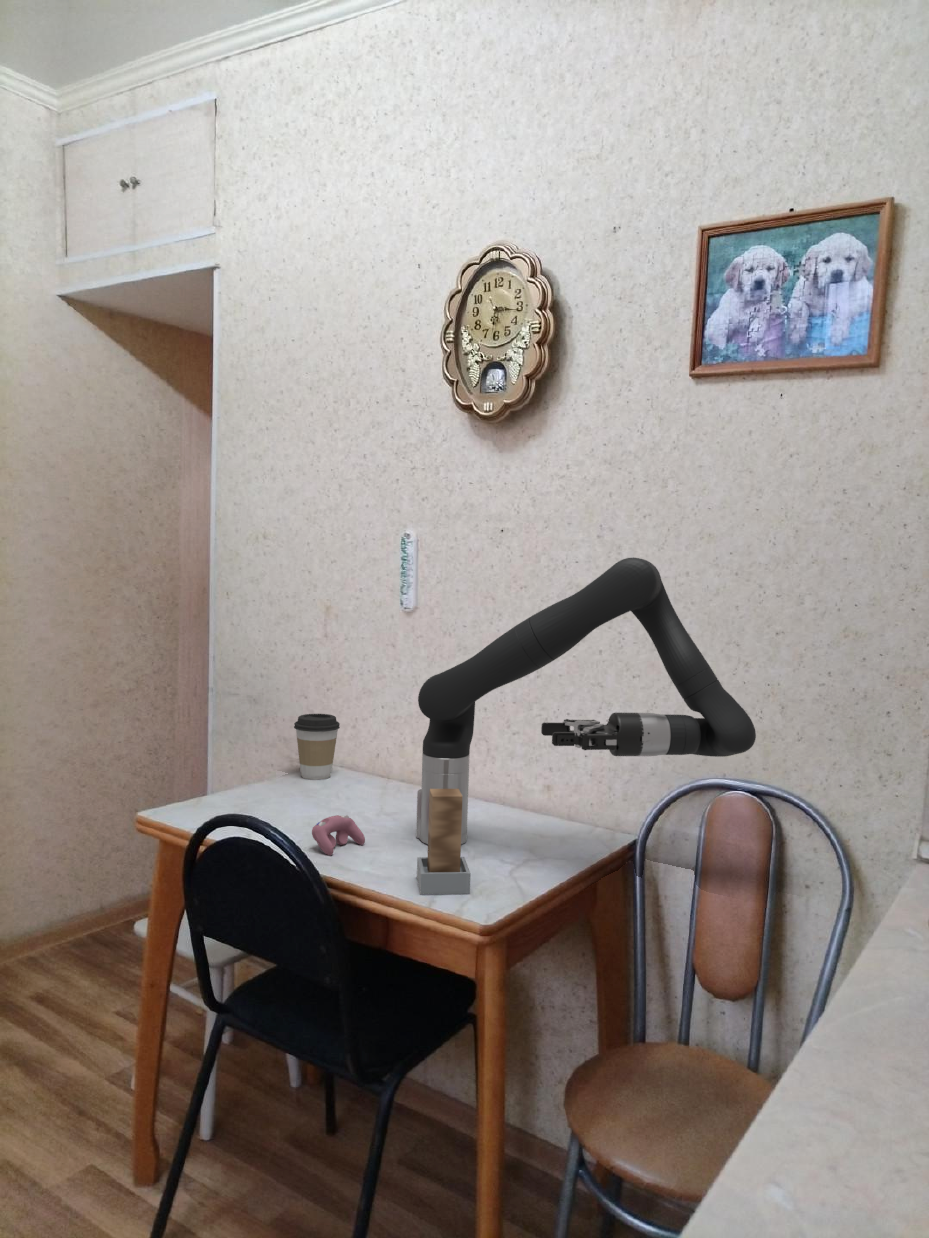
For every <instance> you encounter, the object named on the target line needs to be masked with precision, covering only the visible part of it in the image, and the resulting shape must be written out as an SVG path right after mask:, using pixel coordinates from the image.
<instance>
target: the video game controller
mask: <svg viewBox="0 0 929 1238" xmlns="http://www.w3.org/2000/svg"><path fill="white" fill-rule="evenodd" d="M335 832H336V833H335ZM332 833H335V837H334V836H333V835H332ZM311 835H312V838H313V839H314V841H315V842H316V843H317V845H318V847H319V848H320V850H321V851H322V852H323V853H324V854H325V855H327V856H329V855H330V856H333V855H334V851H335V850H334V848H335V847H336V845H339V846H343V845H346V844H347V843H348V839H349V837H350V838H351V839H352V840H353V841H354V842H355V843H357V844H358V845H360V846H363V845H365V844H366V837H365V835H364V833H363V832H362V829H360V828H359V826H358V825H357V823H356V822H355V820H354V819H352V818H350V816H349V815H348V814H347V815H337V814H336V815H332V816H328V817H325V818H323V819H322V820H320V821H319V822H317V823H316V824H315V825H313V827H312V829H311ZM330 856H329V857H330Z"/></svg>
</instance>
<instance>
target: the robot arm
mask: <svg viewBox="0 0 929 1238" xmlns="http://www.w3.org/2000/svg"><path fill="white" fill-rule="evenodd" d="M629 612H631V614H633V615H634V617H635V618H636V619H637V620H638V621H639V623H640V624H641V625H642V627H643V628H644V630H645V631H646V633H647V634H648V636H649V637H650V640H651V641H652V643H653V645H654V647H655V649H656V652H657V653H658V657H660V660H661V662H662V664H663V667H664V668H665V670H666V673H667V674H668V677H669V679H670V681H671V682H672V684H673V685H674V686H675V689H676V690H677V691H678V693H679V695H680V696H681V698H682V700H683V701H684V703H685V705H686V706H687V707H688V708H689V709H690V710H691V711H693V712H696V713H699V714H700V715H701V716H702V717H700V718H699V717H693V716H691V715H687V714H663V713H662V714H661V713H654V712H612V713H611V714H610V715H609V717H608V722H607V723H606V724H604V723H601V722H600V721H599V720H595V719H568V718H566V719H563V721H562V722H542V723H541V735H543V736H544V737H545V736H547V737H548V736H550V737H551V744H552V745H553V746H554V747H575V748H577V749H581V750H583V751H604V750H606V751H608V750H609V752H610V754H611V755H612V756H614V757H658V756H683V755H685V756H686V755H695V756H696V755H697V756H701V757H702V756H703V757H717V758H721V757H723V758H724V757H730V756H734V755H735V756H736V755H739V754H742V753H746V752H747V751H750V750H751V749H752V747H754V745H755V742H756V738H757V733H756V732H757V731H756V729H755V728H756V727H755V726H754V723H753V721H752V718H751V717H750V716H749V714H748V713H747V711H746V710H745V709H744V708H743V707H742V706H741V705H740V704H739V703H738V702H737V700H736V699H735V698H734V697H733V696H732V695H731V694H730V693H729V692H728V691H727V690H726V689H725V688H724V687H723V686H722V683H721V682H720V681H719V679H718V677H717V675H716V674H715V672H714V671H713V669H712V667H711V666H710V664H709V663H708V661H707V659H706V658H705V657H704V655H703V654H702V652H701V651H700V649H699V648H698V646H697V644H696V643H695V641H694V640H693V639H692V637H691V636H690V634H689V633H688V631H687V630H686V627H685V626H684V625H683V623H682V621H681V620H680V617H679V616H678V614H677V612H676V611H675V609H674V606H673V605H672V602H671V600H670V598H669V596H668V592H667V591H666V588H665V586H664V582H663V581H662V577H661V574H660V571H659V570H658V568H657V567H656V566H655V565H654V564H653V563H652V562H650V561H649V560H646V559H645V558H640V557H626V558H623V559H621V560H618V561H617V562H616V563H614V564H613V565H612V566H611V567H609V568H608V569H607V570H605V571H604V572H603V573H602V574H600V575H599V576H598V577H597V578H595V579H594V580H593V581H591V582H590V583H588V584H587V585H586V586H584V587H583V588H582V589H579V591H577V592H576V593H573V594H572V595H570V596H568V597H566V598H564V599H562V600H559V601H556V602H555V603H553V604H552V605H550V606H547V607H545V608H544V609H541V610H540V611H538V612H536V613H535V614H533V615H531V616H529V617H528V618H526V619H524V620H522V621H521V622H520V623H518V624H516V625H515V626H513V627H511V629H509V630H507V631H506V632H505V633H503V634H502V635H500V636H499V637H497V638H496V639H495V640H493V641H491V642H490V643H488V645H487V646H485V647H484V648H483V649H481V650H480V651H478V652H477V653H476V654H475V655H473V656H471V657H470V658H468V659H466V660H465V661H463V662H461V663H459V664H456V665H455V666H453V667H451V668H448V669H446V670H444V671H442V672H439V673H437V674H434V675H432V676H430V677H428V679H426V680H425V682H424V683H423V684H422V686H421V687H420V690H419V691H418V697H417V703H418V708H419V710H420V712H421V713H422V714H423V716H425V717H426V718H427V719H429V723H428V724H429V725H428V728H427V731H426V734H425V736H424V738H423V741H422V757H421V758H422V759H421V760H422V761H421V762H422V763H421V788H420V789H418V790H417V792H416V794H417V795H416V796H417V797H416V798H417V799H416V827H415V828H416V829H415V830H416V831H415V832H416V833H415V834H416V835H415V838H417V839H420V841H421V842H422V843H424V844H426V845H428V826H429V792H430V789H459V791H460V793H461V795H462V827H461V845H463V844H465V843H466V842H467V838H468V818H469V817H468V814H469V811H468V809H469V787H470V786H469V785H470V784H469V783H470V782H469V781H470V779H469V777H470V753H471V752H470V750H471V743H472V741H473V737H474V727H475V715H476V714H475V713H476V712H475V711H476V701H477V700H479V699H481V698H482V697H484V696H485V695H486V694H487V695H488V694H489V693H490V692H492V691H494V690H495V689H498V688H500V687H503V686H505V685H507V684H511V683H512V682H514V681H517V680H520V679H522V678H524V677H526V676H528V675H530V674H532V673H534V672H536V671H538V670H540V669H542V668H543V667H545V666H546V665H548V664H550V663H552V662H553V661H556V660H557V659H558V658H560V657H562V656H563V655H564V654H566V653H568V652H569V651H570V650H571V649H572V648H574V647H575V646H577V644H579V643H580V642H582V640H583V639H585V638H586V637H587V636H588V635H589V634H590V633H592V632H593V631H594V630H595V629H597V628H599V627H601V626H602V625H604V624H606V623H608V622H610V621H613V620H614V619H616V618H619V617H621V616H622V615H624V614H627V613H629ZM571 727H573V729H572V730H571Z"/></svg>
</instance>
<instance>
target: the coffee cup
mask: <svg viewBox="0 0 929 1238" xmlns="http://www.w3.org/2000/svg"><path fill="white" fill-rule="evenodd" d="M340 724H341V723H340V722H339V721H337V717H336V716H335V715H334V714H327V713H306V714H301V715H299V716H298V717H297V721H294V726H293V728H294V730H295V733H296V743H297V749H298V750H297V751H298V761H299V770H300V774H301V778H303V779H304V780H310V781H311V780H312V781H321V779H322V780H327V779H329V778H330V777H331V774H332V771H333V765H334V764H333V763H334V757H335V751H336V743H337V737H338V730H339V729H340V727H341V726H340Z"/></svg>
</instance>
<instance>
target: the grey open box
mask: <svg viewBox="0 0 929 1238" xmlns="http://www.w3.org/2000/svg"><path fill="white" fill-rule="evenodd" d="M427 859H428V856H417V863H416V864H417V866H416V878H417V879H416V880H417V883H418V884H417V885H418V888H419V889H418V890H419V893H420V894H419V895H420V896H421V895H422V896H423V895H424V896H425V895H470V894H471V870H470V867H469V865H468V863H467V860H466V857H465V856H461V857H460V872H431V873H428V870H427Z"/></svg>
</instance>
